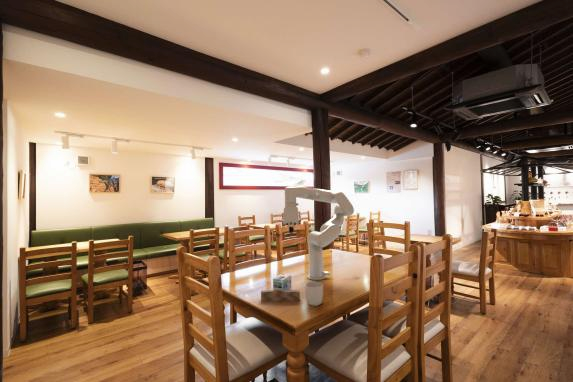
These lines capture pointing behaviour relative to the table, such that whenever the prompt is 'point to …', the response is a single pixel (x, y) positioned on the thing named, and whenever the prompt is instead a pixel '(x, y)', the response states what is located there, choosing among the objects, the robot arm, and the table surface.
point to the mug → (314, 293)
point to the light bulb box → (282, 282)
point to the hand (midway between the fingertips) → (291, 232)
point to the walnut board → (280, 295)
